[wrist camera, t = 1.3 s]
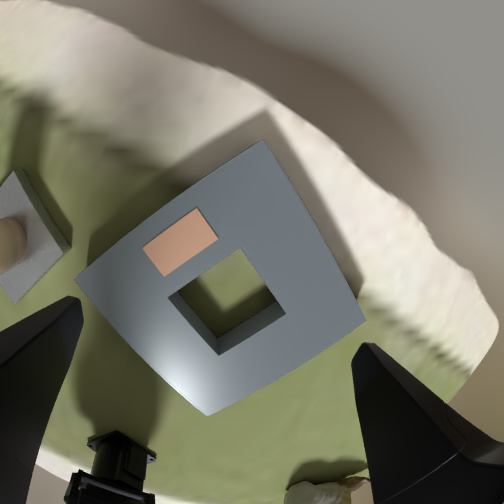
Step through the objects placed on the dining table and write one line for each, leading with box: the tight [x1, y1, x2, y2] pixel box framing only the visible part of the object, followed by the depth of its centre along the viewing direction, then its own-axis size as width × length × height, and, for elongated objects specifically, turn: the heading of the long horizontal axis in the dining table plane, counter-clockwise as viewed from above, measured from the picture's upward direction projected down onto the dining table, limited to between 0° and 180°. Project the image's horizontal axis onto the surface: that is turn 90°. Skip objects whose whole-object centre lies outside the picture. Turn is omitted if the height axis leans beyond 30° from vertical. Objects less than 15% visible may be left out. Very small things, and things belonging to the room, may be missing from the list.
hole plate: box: [74, 140, 366, 416], centre depth 21 cm, size 16×16×3 cm
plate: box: [0, 170, 71, 305], centre depth 18 cm, size 8×8×2 cm
